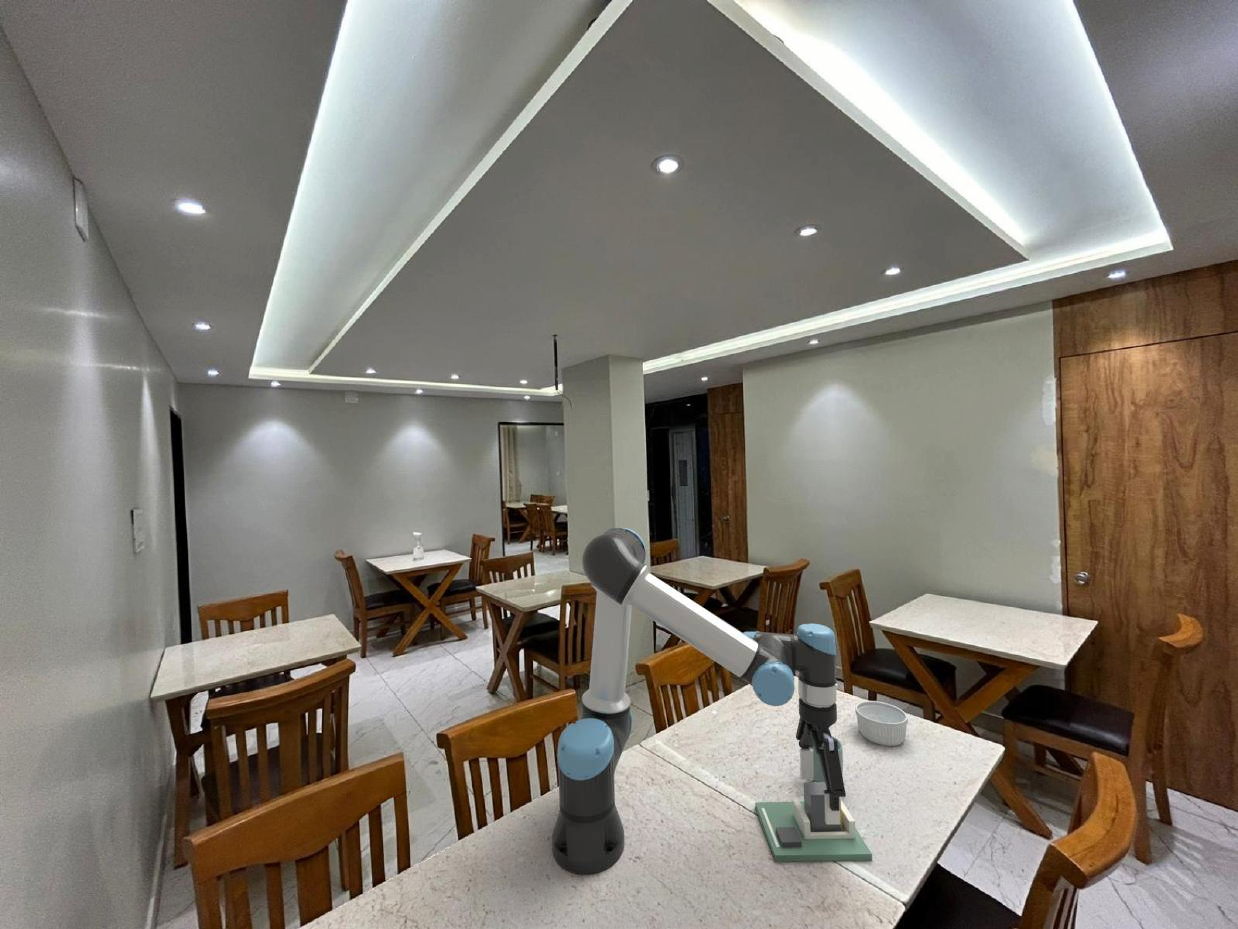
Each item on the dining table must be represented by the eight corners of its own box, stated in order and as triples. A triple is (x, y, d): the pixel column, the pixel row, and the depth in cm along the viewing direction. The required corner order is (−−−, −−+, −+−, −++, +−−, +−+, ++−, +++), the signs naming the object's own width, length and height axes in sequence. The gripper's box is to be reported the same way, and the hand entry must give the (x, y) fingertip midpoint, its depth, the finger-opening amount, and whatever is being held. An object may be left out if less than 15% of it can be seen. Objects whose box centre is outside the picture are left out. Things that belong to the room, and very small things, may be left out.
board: (775, 861, 94) (774, 837, 94) (755, 807, 109) (754, 787, 109) (872, 860, 94) (871, 836, 94) (838, 806, 109) (837, 785, 109)
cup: (847, 795, 112) (846, 753, 112) (812, 792, 114) (811, 750, 114) (839, 774, 120) (837, 734, 120) (806, 771, 122) (805, 732, 122)
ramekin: (860, 719, 146) (859, 696, 146) (910, 732, 138) (909, 707, 138) (852, 739, 135) (851, 715, 135) (906, 755, 127) (905, 729, 127)
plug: (812, 833, 100) (810, 795, 100) (804, 819, 104) (803, 782, 104) (843, 832, 100) (842, 794, 100) (835, 818, 104) (833, 781, 104)
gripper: (863, 732, 89) (865, 845, 89) (812, 674, 114) (813, 762, 114) (823, 732, 89) (825, 845, 89) (781, 674, 114) (782, 763, 114)
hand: (818, 799), depth 102 cm, fingers open, 13 cm apart
